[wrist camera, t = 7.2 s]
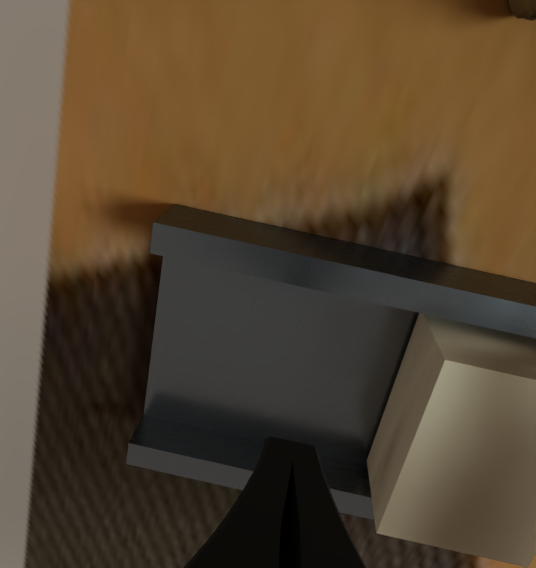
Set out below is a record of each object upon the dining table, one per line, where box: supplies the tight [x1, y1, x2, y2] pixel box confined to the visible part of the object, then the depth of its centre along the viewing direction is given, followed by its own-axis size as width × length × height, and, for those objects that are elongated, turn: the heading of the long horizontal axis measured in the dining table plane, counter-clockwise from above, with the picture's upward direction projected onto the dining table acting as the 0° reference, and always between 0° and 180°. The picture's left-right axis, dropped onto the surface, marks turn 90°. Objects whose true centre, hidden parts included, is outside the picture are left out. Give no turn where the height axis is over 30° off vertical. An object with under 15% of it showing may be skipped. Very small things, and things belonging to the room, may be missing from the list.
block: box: [367, 313, 536, 567], centre depth 19 cm, size 6×8×4 cm
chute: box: [126, 204, 536, 520], centre depth 21 cm, size 18×11×3 cm, turn 79°
